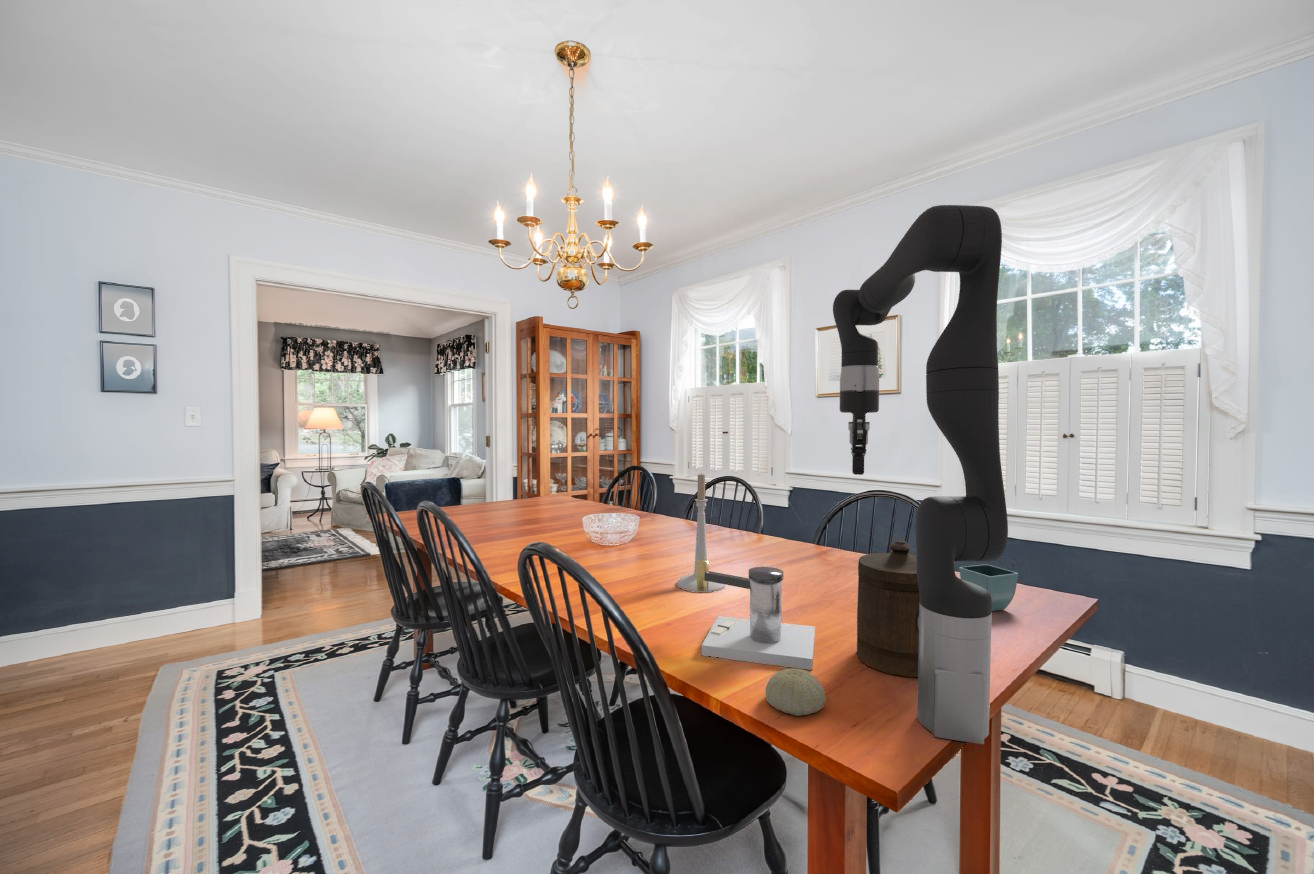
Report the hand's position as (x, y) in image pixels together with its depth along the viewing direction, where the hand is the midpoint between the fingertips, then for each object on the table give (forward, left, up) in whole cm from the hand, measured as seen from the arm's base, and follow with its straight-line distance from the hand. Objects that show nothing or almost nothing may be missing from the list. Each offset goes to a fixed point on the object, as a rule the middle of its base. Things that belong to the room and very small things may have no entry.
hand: (858, 474), depth 114 cm
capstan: (-11, +23, -31) cm, 40 cm away
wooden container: (-11, -7, -33) cm, 36 cm away
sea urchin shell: (-33, +10, -33) cm, 48 cm away
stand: (-12, +18, -33) cm, 39 cm away
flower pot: (+26, -30, -33) cm, 52 cm away
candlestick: (+23, +38, -33) cm, 56 cm away
